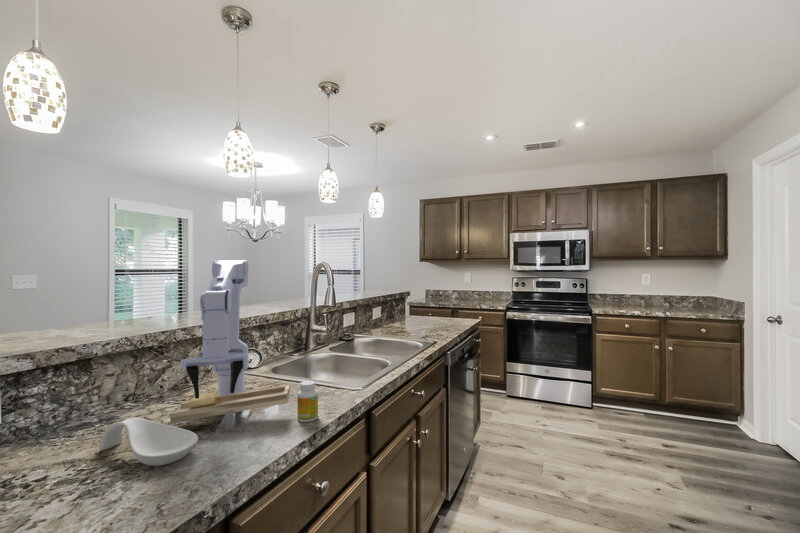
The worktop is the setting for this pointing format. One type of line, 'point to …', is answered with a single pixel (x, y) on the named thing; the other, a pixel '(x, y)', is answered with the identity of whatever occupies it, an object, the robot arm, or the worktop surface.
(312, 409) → the supplement bottle
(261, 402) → the beam
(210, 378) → the worktop surface
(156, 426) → the spoon rest
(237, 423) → the stand
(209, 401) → the block
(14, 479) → the worktop surface
